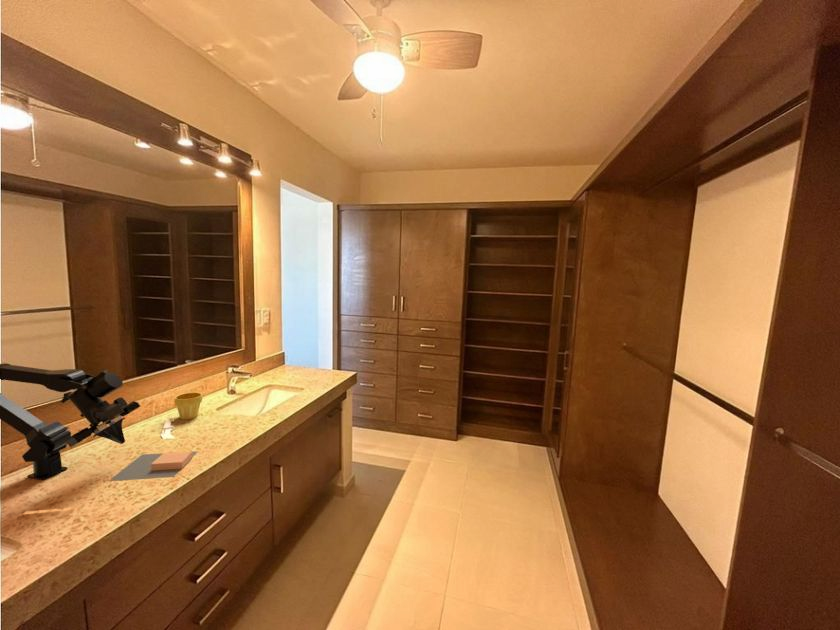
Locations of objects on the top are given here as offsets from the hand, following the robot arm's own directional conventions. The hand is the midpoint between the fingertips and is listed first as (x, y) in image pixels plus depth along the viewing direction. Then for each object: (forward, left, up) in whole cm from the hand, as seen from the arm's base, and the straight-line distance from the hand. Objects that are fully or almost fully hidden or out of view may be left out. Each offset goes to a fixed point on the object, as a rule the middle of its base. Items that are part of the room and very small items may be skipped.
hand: (123, 443), depth 110 cm
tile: (+9, +3, -7) cm, 12 cm away
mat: (+9, +3, -9) cm, 13 cm away
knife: (-7, +25, -9) cm, 27 cm away
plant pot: (-15, +41, -9) cm, 44 cm away
